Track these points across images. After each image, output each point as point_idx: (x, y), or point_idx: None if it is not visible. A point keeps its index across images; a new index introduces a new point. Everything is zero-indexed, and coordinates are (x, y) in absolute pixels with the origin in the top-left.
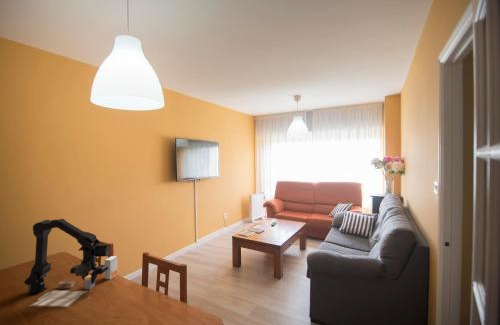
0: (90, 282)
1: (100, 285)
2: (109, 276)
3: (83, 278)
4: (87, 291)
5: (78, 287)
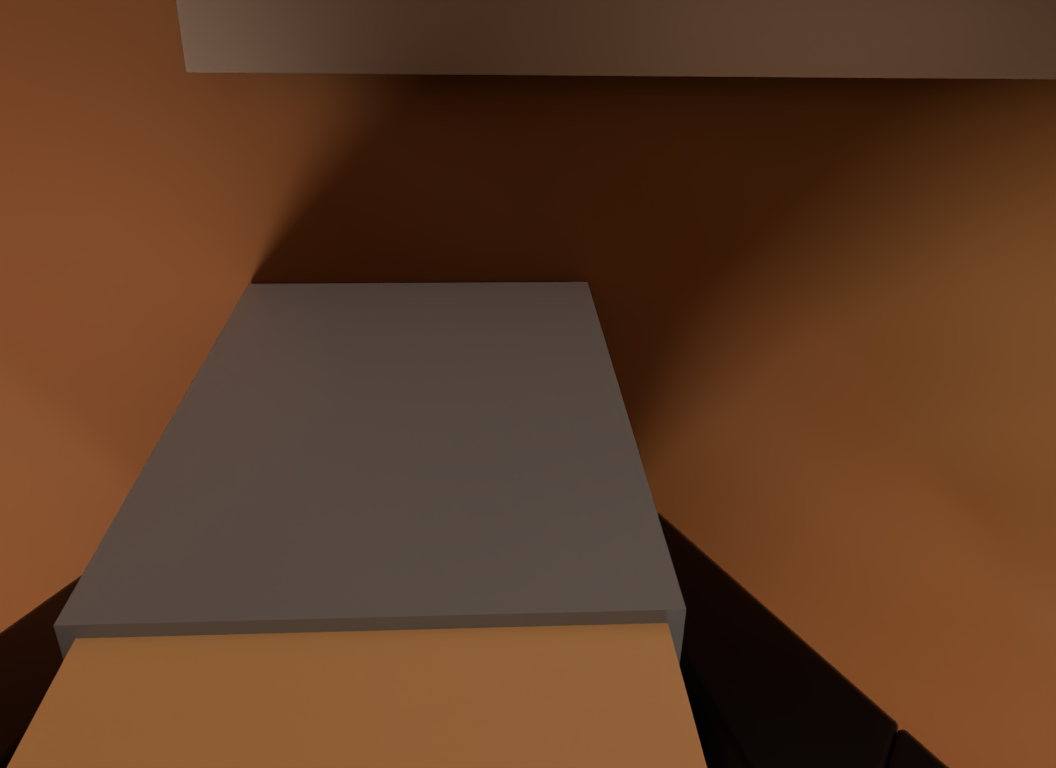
0: (140, 508)
1: (37, 585)
2: None
3: (845, 763)
4: (188, 33)
5: (971, 398)
